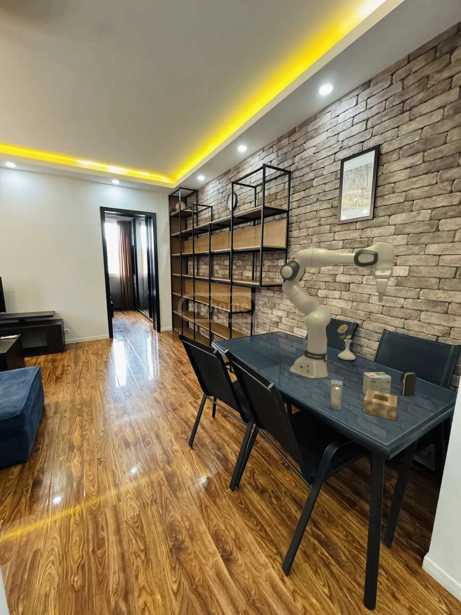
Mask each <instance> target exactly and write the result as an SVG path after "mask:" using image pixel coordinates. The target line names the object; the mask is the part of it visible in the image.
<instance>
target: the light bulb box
mask: <svg viewBox="0 0 461 615" xmlns="http://www.w3.org/2000/svg"><path fill="white" fill-rule="evenodd" d="M391 383H392V376H390V375H389V374H387V373H385V372H384V371H379V372H363V380H362V393H363V394H365V395H366V392H367V389H369V390H373V391H378V392H382V393H386V394H391Z"/></svg>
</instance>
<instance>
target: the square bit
mask: <svg viewBox="0 0 461 615" xmlns="http://www.w3.org/2000/svg"><path fill="white" fill-rule="evenodd" d="M333 385H338V386H341V387H342V391H341V402H342V400H343V386H344V384H343V381H342V380H337V379H330V388H329V389H330V392H329V397H330V399H329V400H331V397H332V386H333Z"/></svg>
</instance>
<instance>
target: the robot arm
mask: <svg viewBox="0 0 461 615" xmlns="http://www.w3.org/2000/svg"><path fill="white" fill-rule="evenodd" d="M395 249H396V248H395V245H394V244H393V243H392V242H389V241H383V240H382V241H380V240H379V241H377V242H376V243H374V244H373V245H371V246H369V247H365V248H362V249H359V250H358V251H356V252H355V253H354V252H353V253H349V252H348V253H346V252H345V253H344V252H343V253H342V252H337V251H333V250H330V249H327V248H321V247H320V248H318V247H316V248H315V247H313V248H304V249H300V250H298V251H297V252H296V254H295V259H291V260H289V261H288V262H285V263H284V264H283V265H282V266H281V267H280V270H279V274H280V277H281V278H282V279H283V280H285V281H283V283H282V286H281V291H282V292H283V294H284V296H285V297H286V298H287V299H288V301H289V302H290V303H291V304H292V305H293V306H294V308H295V309H296V310H297V311H298V312H300V313H301V314H303V315H304V316H305V319H304V325H305V327H306V334H307V347H306V348H305V349H304V350H303V355H301V356H300V357H298V358H297V359H296V360H294V363H293V365H291V366H290V368H289V372H290V373H293V374H297V375H299V376H302V377H306V378H308V379H312V380H313V379H317V378H318V379H323V378H326V377H328V376H329V371H328V368H327V360H328V351H327V349H328V348H327V347H328V346H327V345H328V338H327V331H326V330H327V326H328V325H329V324H330V322H331V318H332V317H331V313H330V312H329V311H328V310H326V308H324V307H323V306H322V305H321V304H320V303H318V302H317V301H316V300H315V299H314V298H312V296H310V294H309V293H308V292H307V291H306V290H305V289H304V288H303V287H302V285H301V284H300V282H302V280H303V278H304V277H305V275H306V271H307V270H306V269H308V268H311V269H312V268H314V269H315V268H316V269H319V268H326V267H331V266H336V265H351V266H352V265H353V266H357V267H359V268H362V269H372V268H373V269H372V278H374V281H375V285H376V286H375V289H376V290H375V291H376V293H377V294H378V296H377V297H378V298H377V299H378V300H377V302H378V303H383V300H384V299H383V298H384V294H386V291H387V288H388V285H389V284H388V283H389V282H390V279H392V278H393V276H394V261H395V256H396V250H395Z"/></svg>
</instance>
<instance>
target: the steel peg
mask: <svg viewBox="0 0 461 615" xmlns="http://www.w3.org/2000/svg"><path fill="white" fill-rule="evenodd" d="M341 391H342V392H343V389H342V387H341V386H338V385H333V386H332V397H331V399H330V408H331V409H332V410H335V411H339V410H340V409H341V404H342V403H341V402H342V401H341Z"/></svg>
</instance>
